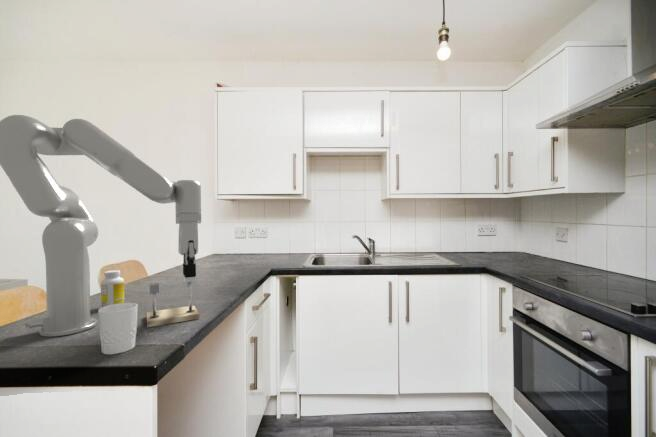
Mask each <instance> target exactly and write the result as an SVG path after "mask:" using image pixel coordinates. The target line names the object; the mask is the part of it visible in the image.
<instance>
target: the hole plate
mask: <svg viewBox="0 0 656 437" xmlns="http://www.w3.org/2000/svg"><path fill="white" fill-rule="evenodd" d="M199 319H200V313H199V310H198V309H197V308H196V306H195V305H193V304H192V310H189V305H188V306H180V307H174V308H166V309H159V310H158V309H157V310H156V316H153V310H152V311H146V327H147V328H150V327H151V328H152V327H156V326H161V325H169V324H174V323H179V322H186V321H194V320H199Z"/></svg>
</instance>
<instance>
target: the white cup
mask: <svg viewBox="0 0 656 437" xmlns="http://www.w3.org/2000/svg"><path fill="white" fill-rule="evenodd" d="M138 307H139V304H138V303H135V302H124V303H119V304H113V305H108V306H105V307H102V306H101V307H100V308H99V309H97V311H98V312H97V313H98V329H99V338H100V339H99V340H100V346H101V347H100V348H101V353H102V354H104V355H116V354H117V355H118V354H122V353H125V352H128V351H130V350H133V349H134V348H135V347H136V338H137V330H138V329H137V328H138V310H139V308H138Z"/></svg>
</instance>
